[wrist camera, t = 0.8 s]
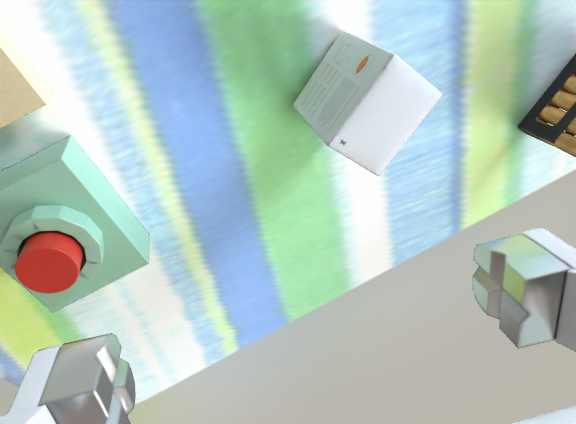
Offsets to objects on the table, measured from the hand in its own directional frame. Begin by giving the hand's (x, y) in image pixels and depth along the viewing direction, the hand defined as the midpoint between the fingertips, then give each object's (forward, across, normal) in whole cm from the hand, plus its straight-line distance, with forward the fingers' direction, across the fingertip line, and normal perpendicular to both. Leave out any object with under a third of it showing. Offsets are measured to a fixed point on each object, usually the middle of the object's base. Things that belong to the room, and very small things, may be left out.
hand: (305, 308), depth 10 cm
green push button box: (+33, +17, +10) cm, 38 cm away
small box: (+34, -10, +3) cm, 35 cm away
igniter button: (+26, +16, +10) cm, 33 cm away
